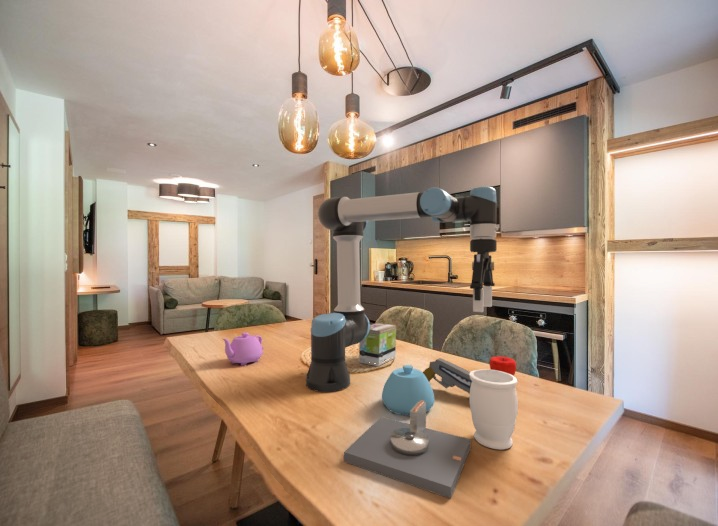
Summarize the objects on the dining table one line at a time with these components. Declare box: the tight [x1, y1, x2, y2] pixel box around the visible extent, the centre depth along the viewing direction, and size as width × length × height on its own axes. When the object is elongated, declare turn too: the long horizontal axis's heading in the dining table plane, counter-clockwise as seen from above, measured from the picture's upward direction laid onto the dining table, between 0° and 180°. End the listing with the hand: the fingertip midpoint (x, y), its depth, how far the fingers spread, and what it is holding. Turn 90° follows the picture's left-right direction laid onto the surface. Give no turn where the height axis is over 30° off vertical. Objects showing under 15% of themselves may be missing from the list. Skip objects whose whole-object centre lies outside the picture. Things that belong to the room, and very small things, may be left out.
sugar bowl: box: [381, 364, 435, 417], centre depth 95 cm, size 15×15×12 cm
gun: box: [422, 357, 472, 395], centre depth 104 cm, size 3×25×15 cm, turn 47°
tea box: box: [358, 322, 397, 367], centre depth 139 cm, size 15×10×15 cm, turn 147°
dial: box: [391, 400, 428, 455], centre depth 72 cm, size 13×8×6 cm, turn 151°
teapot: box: [222, 332, 264, 367], centre depth 136 cm, size 20×14×12 cm
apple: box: [489, 356, 517, 376], centre depth 115 cm, size 9×9×8 cm
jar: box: [469, 368, 519, 451], centre depth 76 cm, size 11×10×15 cm
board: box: [343, 416, 471, 499], centre depth 70 cm, size 22×18×2 cm
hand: (482, 309), depth 99 cm, fingers open, 13 cm apart
